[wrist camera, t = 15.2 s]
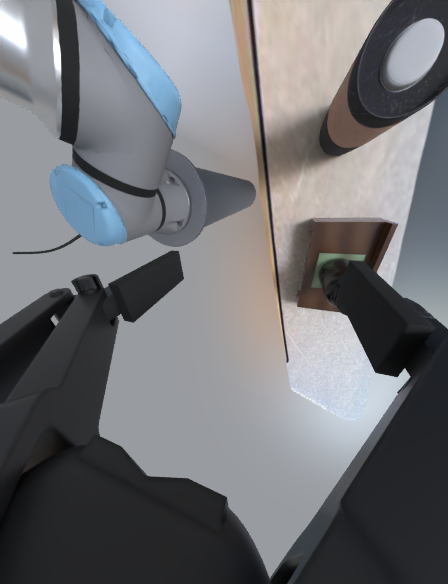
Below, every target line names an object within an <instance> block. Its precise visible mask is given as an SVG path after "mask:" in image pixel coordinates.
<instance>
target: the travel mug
mask: <svg viewBox="0 0 448 584" xmlns="http://www.w3.org/2000/svg"><path fill="white" fill-rule="evenodd" d="M447 88H448V0H392V1H391V2H390V3H389V5H388V6H387V7H386V8H385V10H384V11H383V13H382V14H381V15H380V17H379V18H378V20H377V21H376V23H375V25H374V26H373V28H372V30H371V31H370V33H369V35H368V37H367V39H366V40H365V42H364V44H363V46H362V48H361V50H360V51H359V53H358V55H357V57H356V59H355V61H354V62H353V64H352V66H351V68H350V70H349V72H348V73H347V75H346V77H345V79H344V81H343V83H342V84H341V86H340V88H339V90H338V92H337V94H336V95H335V97H334V99H333V101H332V104H331V106H330V108H329V110H328V113H327V115H326V117H325V119H324V122H323V124H322V127H321V131H320V145H321V147H322V149H323V150H324V152H325V153H327V154H329V155H332V156H338V155H343V154H345V153H347V152H349V151H352V150H354V149H356V148H358V147H360V146H362V145H364V144H366V143H367V142H369V141H371V140H372V139H374V138H376V137H377V136H379V135H380V134H382V133H384V132H385V131H387V130H388V129H390V128H392V127H393V126H395V125H397V124H398V123H400V122H401V121H403V120H405V119H406V118H408V117H409V116H411V115H413V114H414V113H416V112H418V111H419V110H421V109H422V108H424V107H425V106H427V105H428V104H430V103H431V102H432V101H434V100H435V99H436V98H437V97H439V96H440V95H441V94H442V93H443V92H444V91H445V90H446V89H447Z"/></svg>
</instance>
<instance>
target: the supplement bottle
mask: <svg viewBox="0 0 448 584" xmlns="http://www.w3.org/2000/svg"><path fill="white" fill-rule="evenodd" d="M348 263H349V260H348V259H345V258H336V259H332V260H330V261H328V262H326V263H325V264H324V265H323V266H322V267H321V268H320V270H319V274H318V277H319V281H320V284H321V287H322V289H323V292H324V295H325V297H326V299H327V301H328V302H329V303H330V304H331V305H333V306H334V307H337V309H338V311H340V313H342V314H344V315H347V314H346V312H345V310H344V308H343V306H342V303H341V301H340V299H339V297H338V292H339V289H340V286H341V283H342V280H343V277H344V274H345V271H346V269H347V266H348Z"/></svg>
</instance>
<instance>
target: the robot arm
mask: <svg viewBox="0 0 448 584" xmlns="http://www.w3.org/2000/svg"><path fill="white" fill-rule="evenodd" d="M0 97H1V98H3V99H5V100H8V101H10V102H12V103H14V104H16V105H19V106H21V107H23V108H25V109H27V110H30V111H31V112H32V113H33V114H35V115H36V116H37V117H38V118H39V119H40V121H41V122H42V123H43V124H44V125H45V127H46V128H47V129H48V130H49V131H50V133H51V134H52V135H53V136H54V137H56V138H57V139H60V140H62V141H65V142H67V143H70V144H72V146H73V155H72V166H71V165H67V164H63V165H61V166H58V167H56V168H55V169H53V170H52V172H51V174H50V188H51V192H52V195H53V197H54V200H55V202H56V204H57V206H58V208H59V210H60V211H61V213H62V215H63V216H64V217H65V219H66V220H67V222H68V223H69V224H70V225H71V226H72V227H73V228H74V229H75V230H76V231H77V232H78V233H79V235H78V236H76V237H75V238H74V239H72V240H70V241H69V242H67V243H65V244H64V245H62V246H60V247H57V248H55V249H51V250H47V251H39V252H13V254H39V253H47V252H52V251H55V250H58V249H61V248H63V247H65V246H67V245H69V244H71V243H72V242H74V241H75V240H77V239H78V238H80V237H81V236H82V237H84V238H85V239H87V240H88V241H90V242H92V243H94V244H97V245H100V246H111V245H115V244H123V243H125V242H127V241H130V240H133V239H136V238H139V237H142V236H144V235H147V234H150V233H153V232H155V233H160V234H174V233H177V232H179V231H181V230H183V229H184V228H185V227H186V225H187V224H188V222H189V220H190V216H191V210H192V205H191V198H190V194H189V191H188V189H187V187H186V185H185V183H184V182H183V181H182V179H181V178H180V177H179V176H178V175H177V174H176V173H175V172H173V171H171V170H169V169H167V168H165V165H166V161H167V158H168V155H169V152H170V149H171V146H172V142H173V139H174V138H175V137H176V133H175V131H176V127H177V123H178V120H179V116H180V112H181V99H180V95H179V92H178V90H177V88H176V87H175V85H174V83H173V82H172V80H171V79H170V78H169V76H168V75H167V74H166V72H165V71H164V70H163V69H162V68H161V66H160V65H159V64H158V63H157V61H156V60H155V59H154V58H153V57H152V56H151V54H150V53H149V52H148V51H147V50H146V49H145V47H144V46H143V45H142V44H141V43H140V42H139V40H138V39H137V38H136V37H135V36H134V35H133V34H132V33H131V32H130V31H129V30H128V28H127V27H126V26H125V25H124V24H123V23H122V22H121V21H120V20H119V19H117V18H116V17H115V15H114V14H113V13H112V12H111V11H110V10H109V9H108V8H107V7H106V5H105V4H104V3H103V2H102V1H101V0H0ZM183 279H184V277H183V272H182V266H181V261H180V255H179V251H170V252H168V253H167V254H165V255H162V256H160V257H159V258H157V259H155V260H153V261H151V262H149V263H147V264H146V265H143V266H141V267H140V268H138V269H136V270H134V271H132V272H130V273H128V274H126V275H124V276H123V277H121V278H119V279H117V280H115V281H113V282H111V283H109V284H108V285H109V286H108V287H106V288H103V285H102V283H101V281H100V279H99V277H98V275H96V274H90V275H84V276H81V277H78V278H76V279H74V280H72V281H71V282H72V284H73V285H74V287H75V289H76V291H77V292H78V295H73V294H72V292H71V290H70V289H68V288H62V289H55V290H52V291H50V292H49V293H47V294H45V295H43V296H42V297H40V298H39V299H37V300H36V301H35V302H33V303H31V304H30V305H29V306H27V307H25V308H24V309H22V310H21V311H20V312H18V313H17V314H15V315H14V316H12V317H10V318H9V319H8V320H6V321H5V322H3V323H2V324H0V584H448V329H447V328H446V327H445V326H444V325H442V324H441V323H440V322H439V321H438V320H437V319H435V318H434V317H433V316H432V315H431V314H430V313H427V311H426V310H425V309H424V308H423V307H421V306H420V305H419V304H417V303H415V302H414V301H412V300H409V299H408V298H402V296H401V295H399V294H398V293H397V292H396V291H395V290H394V289H393V288H392V287H391V286H390V285H389V284H388V283H386V282H385V281H384V280H383V279H382V278H381V277H380V276H379V275H378V274H377V273H376V272H374V271H373V270H372V269H371V268H370V267H369V266H368V265H367V264H366V263H365V262H364V261H356V260H349V263H348V266H347V269H346V271H345V274H344V277H343V280H342V283H341V286H340V289H339V292H338V297H339V299H340V301H341V303H342V306H343V308H344V310H345V312H346V314H347V316H348V318H349V320H350V322H351V324H352V326H353V328H354V330H355V332H356V334H357V336H358V338H359V340H360V342H361V344H362V346H363V348H364V350H365V352H366V355H367V357H368V359H369V361H370V363H371V365H372V367H373V369H374V371H375V372H376V373H379V374H384V375H389V376H394V377H398V376H399V374H400V373H401V372H402V371H403V369H404V368H405V369H406V370H407V372H408V373H409V375H410V376H411V377H410V378H409V380H408V381H407V382H406V383H405V384H404V385H403V387H402V388H401V389H400V390H399V391H398V392H397V393H398V395H397V396H396V398H395V399H394V401H393V402H392V404H391V405H390V407H389V408H388V410H387V411H386V413H385V414H384V415H383V417H382V418H381V420H380V421H379V423H378V424H377V426H376V427H375V429H374V430H373V432H372V433H371V435H370V436H369V438H368V439H367V440H366V442H365V443H364V445H363V446H362V448H361V449H360V451H359V452H358V453H357V455H356V456H355V458H354V459H353V461H352V462H351V464H350V465H349V467H348V468H347V470H346V471H345V473H344V474H343V476H342V477H341V478H340V480H339V481H338V483H337V484H336V486H335V487H334V489H333V490H332V492H331V493H330V495H329V496H328V498H327V499H326V500H325V502H324V503H323V505H322V506H321V508H320V509H319V511H318V512H317V514H316V515H315V516H314V518H313V519H312V521H311V522H310V524H309V525H308V526H307V528H306V529H305V530H304V531H303V533H302V534H301V535H300V536H299V538H298V539H297V541H296V542H295V543H294V544H293V546H292V547H291V549H290V550H289V551H288V553H287V555H286V556H285V557H284V559H283V560H282V562H281V563H280V564H279V566H278V568H277V569H276V570H275V572H274V573H273V575H272V576H271V578H270V579H269V576H268V573H267V571H266V568H265V565H264V563H263V561H262V558H261V556H260V554H259V552H258V550H257V548H256V546H255V544H254V542H253V540H252V538H251V536H250V535H249V533H248V531H247V530H246V528H245V527H244V525H243V524H242V523H241V521H240V520H239V519H238V517H237V516H236V515H235V514H234V513H233V512H232V511H231V510H230V509H229V508H228V502H227V497H225V496H223V495H221V494H219V493H217V492H215V491H213V490H211V489H209V488H207V487H205V486H202V485H200V484H198V483H196V482H194V481H192V480H190V479H188V478H169V477H150V476H147V475H146V474H145V473H144V471H143V470H142V469H141V468H140V467H139V466H138V465H137V464H136V462H135V461H134V460H133V459H132V458H131V457H130V456H129V455H128V453H127V452H126V451H125V450H124V449H123V448H122V447H121V446H119V445H117V444H115V443H113V442H111V441H108V440H106V439H104V438H102V437H100V434H99V429H98V426H99V419H100V414H101V409H102V404H103V399H104V394H105V389H106V384H107V379H108V374H109V369H110V364H111V359H112V353H113V349H114V344H115V339H116V334H117V329H118V323H119V320H118V317H117V316H118V315H120V314H122V316H123V319H124V320H125V321H129V322H135V321H136V320H137V319H138V318H139V317H141V316H142V315H143V314H144V313H145V312H146V311H147V310H149V309H150V308H151V307H152V306H153V305H154V304H156V303H157V302H158V301H159V300H160V299H161V298H162V297H164V296H165V295H166V294H167V293H168V292H169V291H170V290H172V289H173V288H174V287H175V286H176V285H177V284H179V283H180V281H182V280H183ZM53 315H54V316H55V317H56V319H57V320H58V322H59V323H58V324H57V326H55V325H54V323H53V322H52V321H51V317H52V316H53Z"/></svg>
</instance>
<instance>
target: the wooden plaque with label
mask: <svg viewBox="0 0 448 584" xmlns="http://www.w3.org/2000/svg"><path fill="white" fill-rule="evenodd" d="M397 226H398V223H394V222H391V221H388V220H385V219H381V218H312V221H311V226H310V228H311V230H312V235H311V240H310V245H309V250H308V254H307V259H306V264H305V269H304V273H303V278H302V283H301V288H300V291H297V296H296V298H297V307H303V308H311V309H318V310H326V311H334V312H340V311H338V309H337V307H334V306H333V305H331V304H330V303H329V302H328V301H327V299H326V297H325V295H324V292H323V289H322V287H321V284H320V281H319V277H318V274H319V270H320V268H321V267H322V266H323V265H324V264H325V263H326V262H328V261H330V260H332V259H336V258H345V259H348V260H356V261H364V262H365V263H366V264H367V265H368V266H369V267H370V268H371V269H372V270H373V271H374V272H376V273H377V270H378V268H379V266H380V264H381V261H382V259H383V257H384V255H385V252H386V250H387V248H388V246H389V244H390V241H391V239H392V237H393V235H394V232H395V230H396V228H397Z"/></svg>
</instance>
